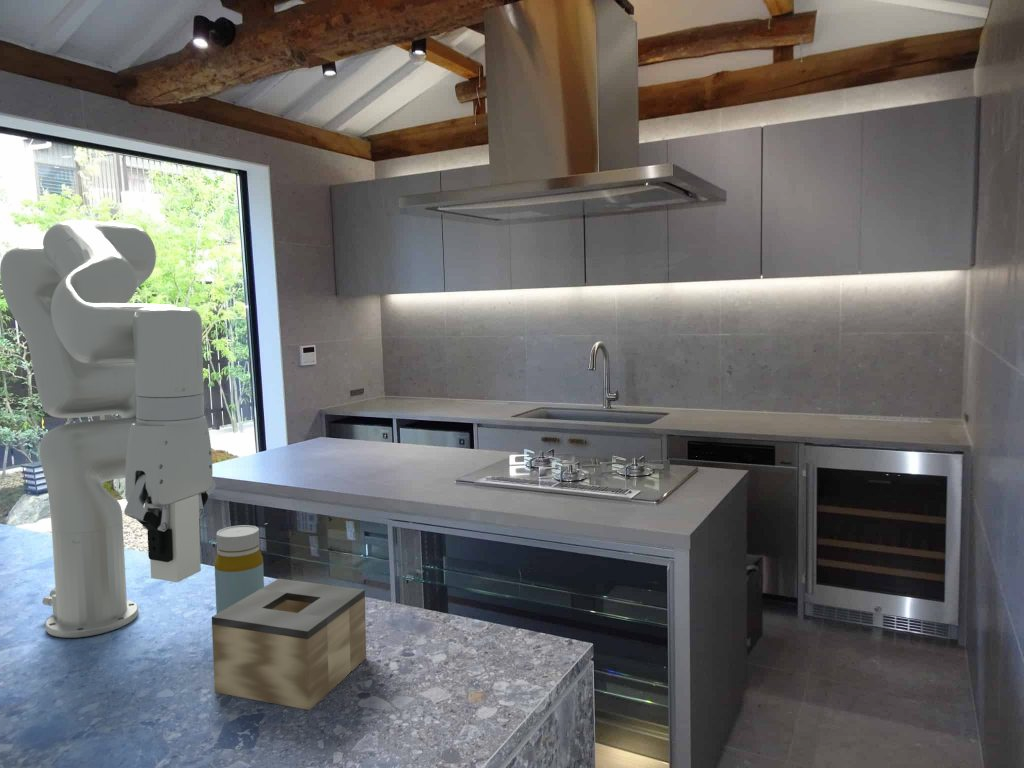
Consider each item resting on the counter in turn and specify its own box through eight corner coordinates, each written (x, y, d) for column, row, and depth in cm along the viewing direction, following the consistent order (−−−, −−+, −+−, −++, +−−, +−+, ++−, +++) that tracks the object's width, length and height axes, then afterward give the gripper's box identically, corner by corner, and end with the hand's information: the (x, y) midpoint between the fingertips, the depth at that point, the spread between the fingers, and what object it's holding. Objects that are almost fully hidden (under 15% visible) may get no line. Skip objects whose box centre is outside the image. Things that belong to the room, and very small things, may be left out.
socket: (214, 692, 92) (211, 616, 91) (280, 644, 106) (278, 578, 105) (309, 710, 88) (307, 631, 87) (366, 658, 101) (364, 589, 101)
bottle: (249, 636, 108) (245, 539, 107) (207, 632, 110) (203, 536, 108) (273, 617, 115) (270, 525, 114) (234, 613, 117) (230, 523, 115)
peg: (151, 577, 89) (148, 499, 88) (175, 566, 93) (172, 491, 92) (177, 582, 88) (174, 502, 87) (200, 570, 92) (198, 494, 91)
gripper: (194, 398, 97) (198, 530, 99) (87, 416, 81) (94, 573, 83) (241, 401, 95) (244, 536, 97) (141, 421, 79) (147, 582, 81)
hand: (175, 552), depth 90 cm, fingers closed on peg, 4 cm apart
